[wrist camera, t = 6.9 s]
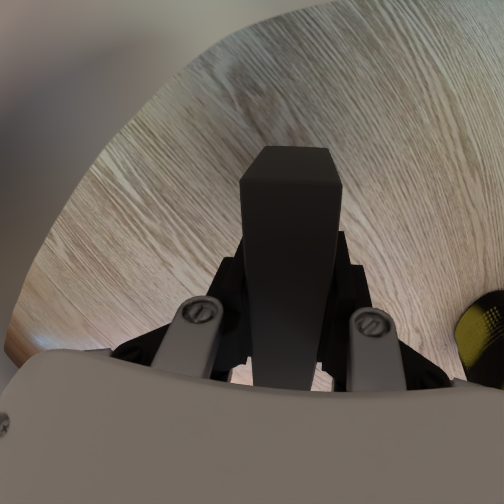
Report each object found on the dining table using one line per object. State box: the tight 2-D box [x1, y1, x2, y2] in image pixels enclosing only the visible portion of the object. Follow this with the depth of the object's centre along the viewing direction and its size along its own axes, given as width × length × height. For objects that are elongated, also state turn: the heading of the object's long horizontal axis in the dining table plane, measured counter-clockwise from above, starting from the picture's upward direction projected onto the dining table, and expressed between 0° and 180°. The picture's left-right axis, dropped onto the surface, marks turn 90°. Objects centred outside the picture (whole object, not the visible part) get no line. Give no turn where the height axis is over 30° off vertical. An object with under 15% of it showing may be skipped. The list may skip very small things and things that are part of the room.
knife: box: [239, 146, 343, 391], centre depth 13 cm, size 20×2×4 cm, turn 3°
